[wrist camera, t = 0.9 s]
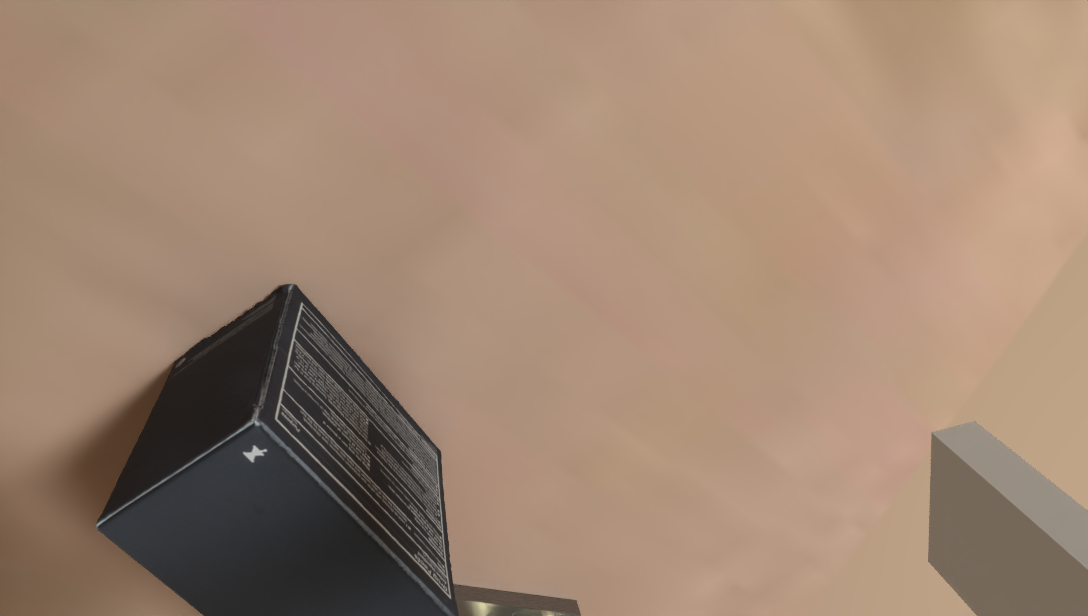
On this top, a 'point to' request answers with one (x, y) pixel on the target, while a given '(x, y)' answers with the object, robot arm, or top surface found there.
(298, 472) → the small box
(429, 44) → the top surface
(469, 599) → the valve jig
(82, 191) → the top surface
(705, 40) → the top surface
